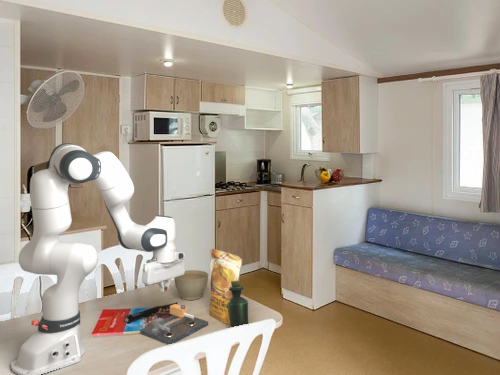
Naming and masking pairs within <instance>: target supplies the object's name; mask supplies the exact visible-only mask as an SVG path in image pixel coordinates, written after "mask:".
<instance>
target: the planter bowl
mask: <svg viewBox="0 0 500 375" xmlns="http://www.w3.org/2000/svg"><path fill="white" fill-rule="evenodd" d="M173 279H174V286H175V288H176V291H177V292H178V294H179V295H180V298H181V299H182V300H184V301H185V300H186V301H196V300H199V299H201V298H202V294H203V293H204V292H205V290H206V288H207V286H208V282H209V273H208V272H207V271H204V270H194V269H191V270H189V269H188V270H187V269H186V270H185V273H184V275H182V276H178V277H175V278H173Z"/></svg>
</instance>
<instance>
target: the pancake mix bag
mask: <svg viewBox="0 0 500 375" xmlns="http://www.w3.org/2000/svg"><path fill="white" fill-rule="evenodd" d="M209 251H210V252H209V255H210V257H209V261H210V262H209V265H210V266H209V267H210V268H209V290H210V291H209V292H210V295H209V296H210V297H209V298H210V301H209V316H210V317H211V318H214V319H215V320H217V321H219V322H221V323H222V324H224V325H231V324H230V318H229V312H228V306H227V304H228V301H230V300H231V299H232V298H233V294H232V291H229V288H230V287H232V284H231V281H238V280H240V275H241V269H242V268H243V267H242V266H243V258H241V256H240V255H237V254H234V253H230V252H228V251H227V252H226V251H224V250H220V249H216V248H211V249H209Z"/></svg>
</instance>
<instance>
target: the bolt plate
mask: <svg viewBox="0 0 500 375" xmlns="http://www.w3.org/2000/svg"><path fill="white" fill-rule="evenodd" d="M187 314H190V313H188V312H187ZM190 315H192V314H190ZM152 322H153V323H152V324H150V325H148V326H145V327H143V328H141V329H139V334H140V335H142V336H145V337H147V338H150V339H153V340H154V341H155V340H156V341H157V342H160V343H162V344H165V345H168V344H172V343H174V344H175V343H177V342H179V341H181V340H183V339H185V338H187V337H189V336H190V335H193V334H194V333H197V332H198V331H200V330H202V329H204V328H206V327H208V326H209V321H208V320H205V319H202V318H198V317H195V316H194V322H192V318H189V317H186V316H185V317H183V318H181V317H178V316H175V315H172V314H171V315H170V316H167V317H165V318H161V317H158V318H155V319H154V320H153V321H152ZM172 345H173V344H172ZM168 346H169V345H168Z"/></svg>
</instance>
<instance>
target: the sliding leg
mask: <svg viewBox="0 0 500 375" xmlns="http://www.w3.org/2000/svg"><path fill="white" fill-rule="evenodd" d="M187 313H188V307H186V305H185V304H181V305H180V304H177V303H174V304H171V305H169V314H170V315H171V316H172V315H175V316H178V317H181V318H183V317H185V316H186V317H189V318H192V322H194V317H195V315H192V314H191V315H190V313H188V314H187Z"/></svg>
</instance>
